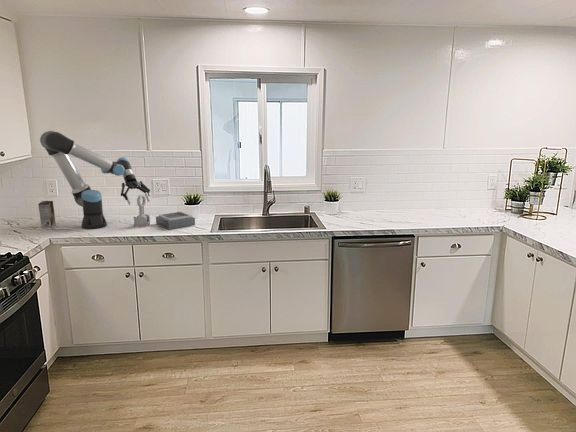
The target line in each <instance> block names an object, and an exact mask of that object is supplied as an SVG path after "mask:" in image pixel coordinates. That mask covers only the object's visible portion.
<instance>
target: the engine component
mask: <svg viewBox="0 0 576 432" xmlns="http://www.w3.org/2000/svg"><path fill="white" fill-rule="evenodd" d="M141 200H142V202H141ZM136 203H137V205H136V206H138V208H139V210H138V211H139V213H138V215H137V216H133V225H134V227H136V228H146V226H147V227H150V226H151V221H150V220H151V219H150V214H146V213H145V205H146V203H147V198H146V196H145V194H140V195H138V196H137V199H136ZM149 225H150V226H149Z"/></svg>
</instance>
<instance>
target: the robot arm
mask: <svg viewBox="0 0 576 432" xmlns="http://www.w3.org/2000/svg"><path fill="white" fill-rule="evenodd" d="M39 142H40V144H41V146H42V147H43V148H44V149H45V151H46V152H47V154H48V155H49V157H51V158H52V157H53V159H54V161H55V162H56V164H57V166H58V167H59V169H60V171H61V172H62V174H63V176H64V177H65V179H66V181H67V183H68V184H69V186H70V188H71V195H72V196H73V198H74V202H75V203H76V204H77V205H78V206H79V207H82V211H83V218H82V220H81V228H82V229H84V230H97V229H102V228H105V227H107V226H108V223H107V220H106V218H105V215H104V210H103V197H102V193H101V191H99V190H96V189H92V188H91V186H90V185H89V184H87V183H85V181H84V180H83V178H82V176H81V174H80V172H79V170H78V169H77V167H76V165H75V163H74V162H73V160H72V158H71V157H70V156H72V157H75V158H77V159H79V160H81V161H84V162H86V163H88V164H90V165H92V166H94V167H97V168H99V169H100V171H101V173H102V174H104V175H105V174H111V175H113V176H114V175H115V176H119V177H120V176H122V177H123V179H124V180H123V181H124V182H122V183H121V191H120V196H121V197H123V198H124V200H125V201H127V204H128V205H131V199H130V197H129V194H128V192H129V191H130V190H135V189H137V190H139V191H140V192H142V193H144V196H145V198H146V202H148V203H149V202H150V201H151V198H150V192H151V189H150V188H149V187H148V186H146V185H145V183H143V181H142V180H140V181H138V180H137V178H136V176H135V173H134V171H133V169H132V166H131V163H130V161H129V159H128V158H127V157H124V156H123V157H119V158H118V159H117V160H116V161H113V160H111V159H110V158H106V157H104V156H102V155H100V154H98V153H96V152H94V151H92V150H90V149H87V148H86V147H84V146H82V145H79V144H77V143H76V142H75V140H73V139H70V138H69V137H67V136H66V135H63V134H62V133H61V132H58V131H54V130H48V131H45V132H43V133H41V135H40V138H39ZM125 187H127V188H126V189H125ZM124 191H125V192H124Z"/></svg>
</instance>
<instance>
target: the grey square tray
mask: <svg viewBox="0 0 576 432" xmlns="http://www.w3.org/2000/svg"><path fill="white" fill-rule="evenodd" d="M155 222H156V223H155V224H156V225H158V226H160V227H163V228H165V229H167V230H174V229H181V228H187V227H192V226H195V225H196V218H195V217H193V216H192V215H191V214H188V213H186V212H183V211H176V212H175V211H174V212H170V213H169V212H168V213H167V212H166V213H162V214H158V216H155Z"/></svg>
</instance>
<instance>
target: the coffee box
mask: <svg viewBox="0 0 576 432" xmlns="http://www.w3.org/2000/svg"><path fill="white" fill-rule="evenodd" d="M37 205H38V212H39V219H40V221H39V222H40V228H42V229H45V228H47V229H48V228H49V229H50V228H53V227H54V226H55V225H56V216H55V209H54V201H53V200H42V201H40V202H39V203H38V204H37Z"/></svg>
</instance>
